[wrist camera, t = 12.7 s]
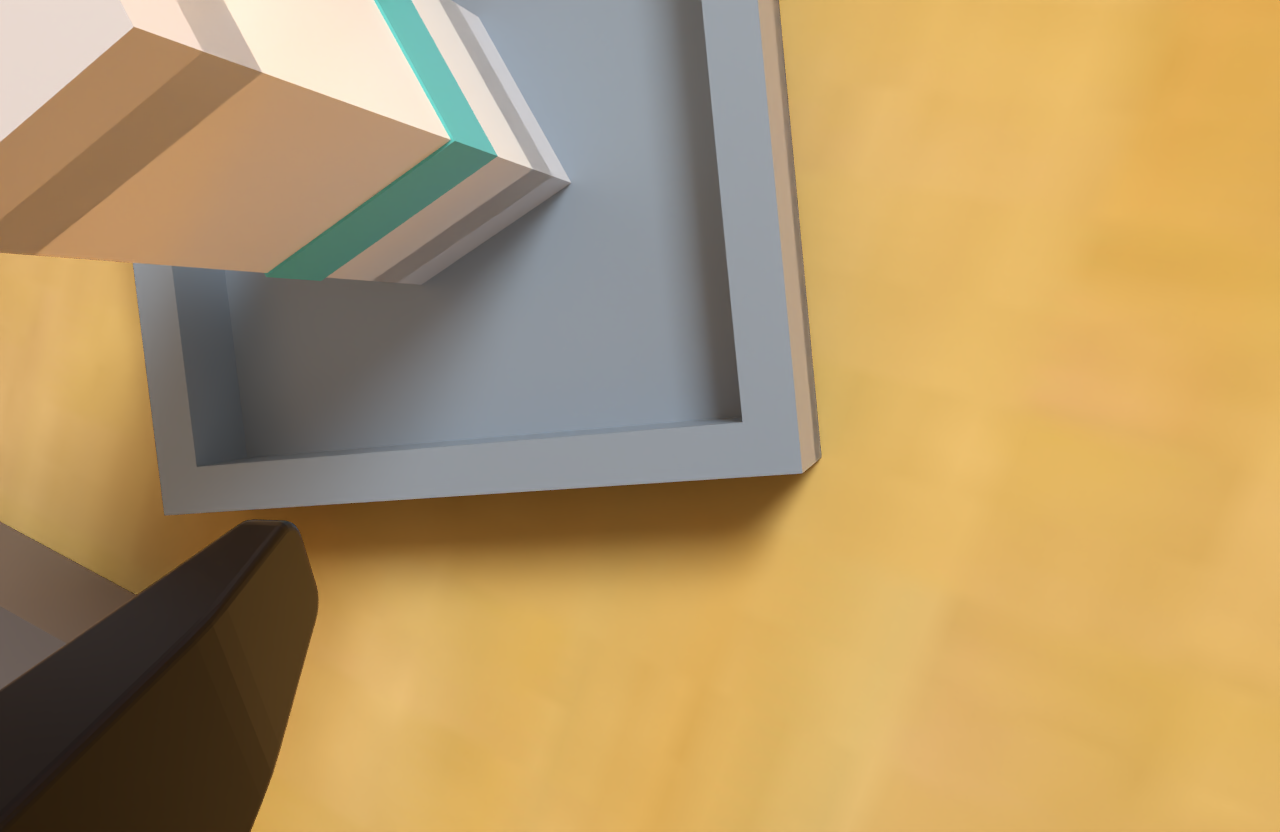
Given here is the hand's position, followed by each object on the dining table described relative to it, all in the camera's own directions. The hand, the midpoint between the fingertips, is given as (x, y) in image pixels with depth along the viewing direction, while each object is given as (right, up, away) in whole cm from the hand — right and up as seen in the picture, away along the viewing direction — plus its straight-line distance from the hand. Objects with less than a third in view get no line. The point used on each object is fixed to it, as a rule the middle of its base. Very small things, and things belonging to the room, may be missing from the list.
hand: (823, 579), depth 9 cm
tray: (-5, +7, +15) cm, 17 cm away
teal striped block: (-6, +7, +14) cm, 16 cm away
